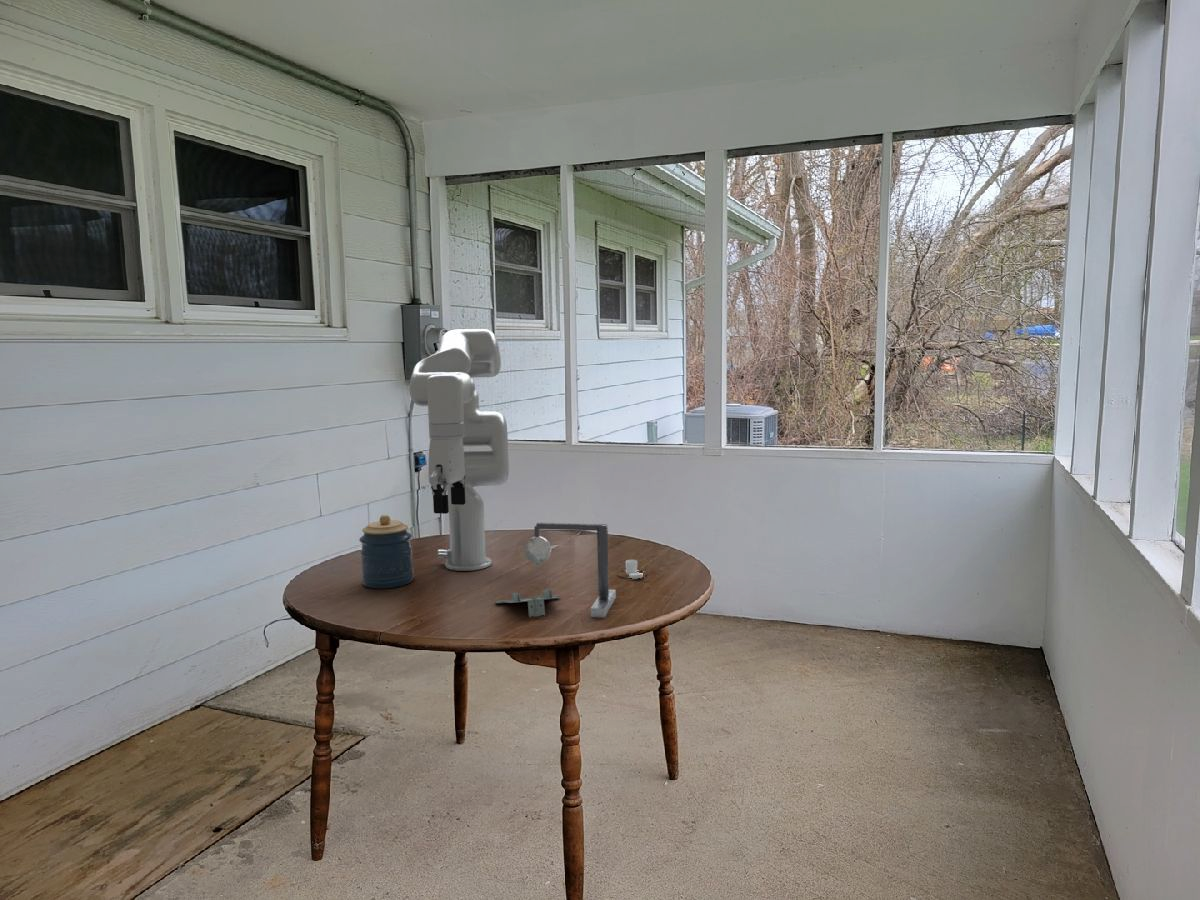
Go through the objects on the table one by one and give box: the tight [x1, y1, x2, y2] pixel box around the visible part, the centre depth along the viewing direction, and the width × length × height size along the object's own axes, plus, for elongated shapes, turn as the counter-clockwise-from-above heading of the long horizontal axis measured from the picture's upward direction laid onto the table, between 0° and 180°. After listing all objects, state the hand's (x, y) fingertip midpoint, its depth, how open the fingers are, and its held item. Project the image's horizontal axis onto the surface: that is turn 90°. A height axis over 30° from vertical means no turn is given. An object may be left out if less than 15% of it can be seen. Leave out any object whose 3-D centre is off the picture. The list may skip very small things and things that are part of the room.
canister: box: [358, 514, 415, 589], centre depth 200 cm, size 13×13×18 cm
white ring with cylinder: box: [625, 559, 643, 580], centre depth 203 cm, size 9×8×4 cm
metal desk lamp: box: [523, 522, 617, 619], centre depth 178 cm, size 20×14×19 cm
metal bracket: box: [494, 589, 561, 618], centre depth 179 cm, size 14×6×15 cm
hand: (450, 508), depth 171 cm, fingers open, 9 cm apart
